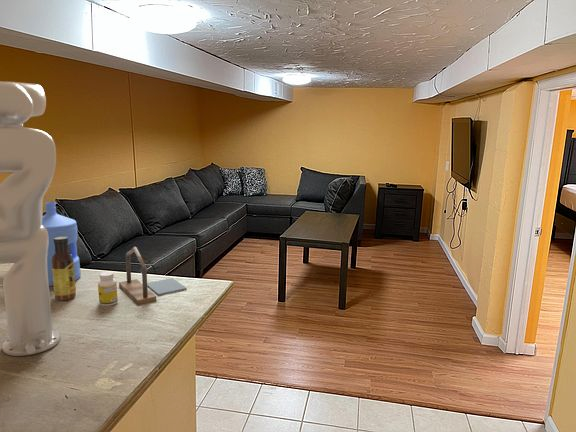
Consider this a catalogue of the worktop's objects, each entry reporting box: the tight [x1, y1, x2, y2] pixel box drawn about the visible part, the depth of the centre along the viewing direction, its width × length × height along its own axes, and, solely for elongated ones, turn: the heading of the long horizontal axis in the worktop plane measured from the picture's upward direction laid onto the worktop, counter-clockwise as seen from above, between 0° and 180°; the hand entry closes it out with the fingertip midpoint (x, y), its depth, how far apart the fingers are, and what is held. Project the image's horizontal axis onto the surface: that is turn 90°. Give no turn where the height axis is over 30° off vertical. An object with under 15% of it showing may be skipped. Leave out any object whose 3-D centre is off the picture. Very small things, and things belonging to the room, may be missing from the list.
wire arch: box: [118, 246, 157, 306], centre depth 142 cm, size 19×6×16 cm, turn 38°
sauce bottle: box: [52, 237, 77, 302], centre depth 137 cm, size 7×6×20 cm
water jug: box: [42, 201, 82, 287], centre depth 152 cm, size 16×16×28 cm
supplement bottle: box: [97, 271, 119, 307], centre depth 134 cm, size 5×5×10 cm
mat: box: [147, 277, 188, 296], centre depth 150 cm, size 12×10×1 cm
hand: (14, 192), depth 121 cm, fingers open, 9 cm apart
